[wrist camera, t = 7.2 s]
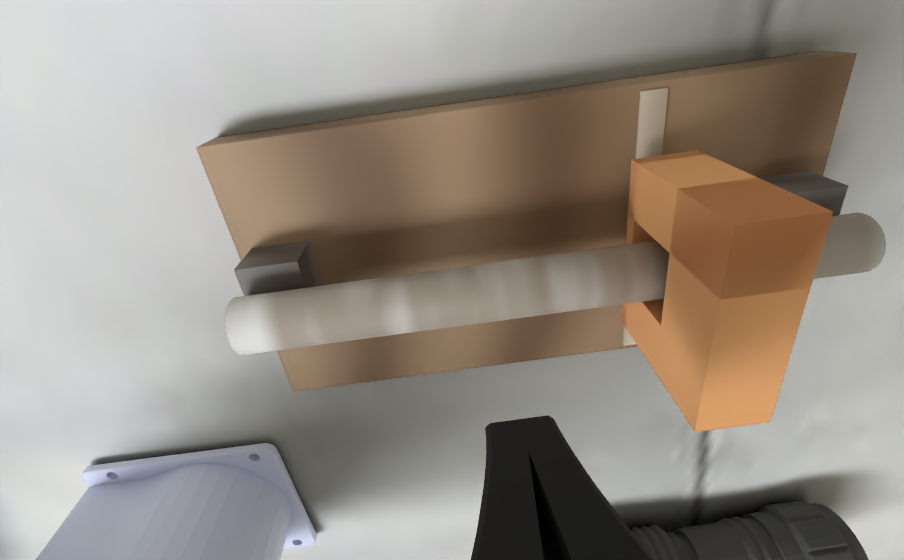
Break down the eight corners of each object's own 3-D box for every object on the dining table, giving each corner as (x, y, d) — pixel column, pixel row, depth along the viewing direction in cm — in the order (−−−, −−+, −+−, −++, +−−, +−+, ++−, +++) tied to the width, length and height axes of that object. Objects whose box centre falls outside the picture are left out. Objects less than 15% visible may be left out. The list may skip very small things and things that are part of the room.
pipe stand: (302, 367, 20) (267, 462, 16) (216, 137, 15) (130, 181, 11) (756, 307, 20) (851, 387, 15) (818, 50, 15) (983, 60, 10)
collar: (620, 320, 17) (694, 431, 12) (631, 159, 14) (734, 224, 9) (674, 313, 17) (770, 422, 12) (697, 150, 14) (833, 211, 9)
